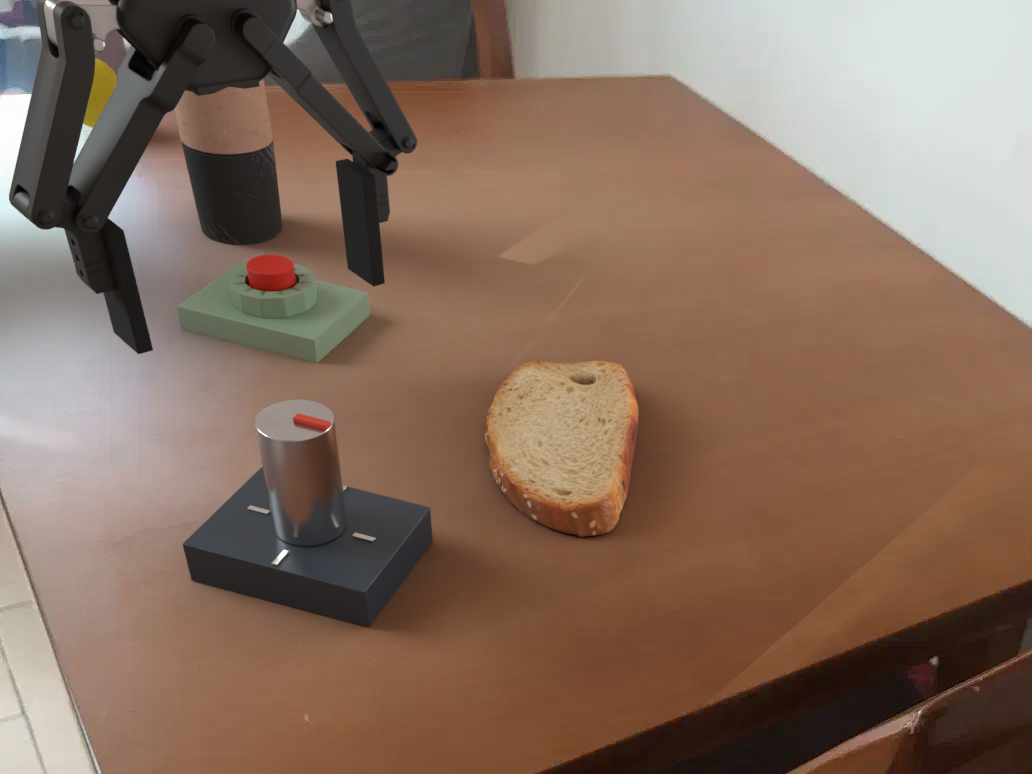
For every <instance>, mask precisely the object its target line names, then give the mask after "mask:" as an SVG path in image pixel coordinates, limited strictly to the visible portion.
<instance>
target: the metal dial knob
mask: <svg viewBox="0 0 1032 774" xmlns="http://www.w3.org/2000/svg"><path fill="white" fill-rule="evenodd" d="M254 427H255V433H256V438H257V443H258V449H259V454H260V460H261V465H262V466H263V471H264V476H265V482H266V487H267V493H268V498H269V503H270V509H271V514H272V520H273V525H274V530H275V533H276V534H277V535H278V537H279V538H281V539H282V540H283V541H285V542H287V543H290V544H293V545H299V546H314V545H320V544H324V543H327V542H330V541H332V540H334V539H335V538H337V537H338V536H340V535H341V534H342V533H343V532H344V530H345V529H346V527H347V513H346V505H345V497H344V490H343V485H344V483H343V475H342V468H341V458H340V452H339V445H338V436H337V428H336V421H335V415H334V412H333V411H332V409H330V408H329V407H328V406H326V405H325V404H322V403H321V402H317V401H314V400H309V399H286V400H281V401H278V402H275V403H272V404H270V405H268V406H265V407H264V408H263V409H262V410H260V411H259V412H258V414H256V417H255V420H254Z"/></svg>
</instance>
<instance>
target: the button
mask: <svg viewBox="0 0 1032 774" xmlns="http://www.w3.org/2000/svg"><path fill="white" fill-rule="evenodd" d="M246 263H247V265H246V268H247V274H248V279H249V285H250V287H251V288H252V289H256V290H260V291H282V290H286V289H290V288H292V287H294V286H295V285H296V278H295V271H294V264H295V263H294V262H293V260H291V258H289V257H287V256H285V255H284V256H283V255H279V254H262V255H258V256H254V257H252V258H250V259H249V260H247V262H246Z"/></svg>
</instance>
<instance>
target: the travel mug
mask: <svg viewBox="0 0 1032 774" xmlns="http://www.w3.org/2000/svg"><path fill="white" fill-rule="evenodd" d="M259 85H260V86H259V87H253V88H246V89H244V88H236V87H227V88H225V89H222V90H220V91H218V92H216V93H214V94H207V95H201V96H198V95H196V94H194V93H193V92H189V91H186V90H185V92H184V93H183V95H182V97H181V99H180V101H179V102H178V104H177V106H176V107H175V109H174V111H175V117H176V121H177V127H178V133H179V137H180V142H181V147H182V152H183V155H184V160H185V165H186V169H187V174H188V177H189V182H190V186H191V190H192V191H191V192H192V195H193V199H194V204H195V207H196V208H195V209H196V212H197V217H198V221H199V226H200V228H201V231H202V234H203V235H205V237H207V238H208V239H210V240H212V241H214V242H217V243H221V244H225V245H234V246H241V245H242V246H243V245H244V246H247V245H256V244H261V243H266V242H268V241H270V239H271V240H273V239H275V238H276V237H278V236H279V235H280V234H281V232H282V230H283V219H282V218H283V217H282V210H281V209H282V208H281V200H280V191H279V181H278V172H277V163H276V153H275V146H274V137H273V130H272V129H273V128H272V124H271V117H270V110H269V105H268V97H267V91H266V84H265V78H264V79H262V80H261V81H259ZM279 233H280V234H279ZM278 234H279V235H278ZM277 235H278V236H277Z"/></svg>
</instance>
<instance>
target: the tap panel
mask: <svg viewBox="0 0 1032 774" xmlns="http://www.w3.org/2000/svg"><path fill="white" fill-rule="evenodd" d="M343 490H344V497H345V505H346V513H347V527H346V529H345V530H344V532H343V533H342V534H341V535H340V536H338V537H337V538H335V539H334V540H332V541H330V542H327V543H324V544H320V545H314V546H299V545H293V544H290V543H287V542H285V541H283V540H282V539H281V538H279V537H278V535H277V534H276V533H275V530H274V525H273V520H272V514H271V509H270V503H269V498H268V493H267V487H266V482H265V476H264V471H263V465H262V466H261V467H260V468H259V469H257V471H256V472H255V473H254V474H253V475H252V476H250V477H249V479H247V480H246V482H244V483H243V484H242V485H241V486H240V487H239V488H238V489H237V490H236V491H235V493H232V495H231V496H230V497H229V498H228V499H227V500H226V501H225V502H224V503H223V504H222V505H221V506H220V507H218V509H217V510H216V511H215V512H214V513H213V514H212V515H210V517H209V518H207V519H206V521H204V522H203V523H202V524H201V525H200V527H198V528H197V529H196V530H195V531H194V532H193V533H192V534H191V535H190V536H189V537H188V538H187V539H186V540H185V541H184V542H183V543H182V548H183V552H184V556H185V560H186V564H187V567H188V568H187V569H188V571H189V576H190V579H191V581H193V582H198V583H201V584H205V585H208V586H211V587H216V588H220V589H223V590H228V591H231V592H235V593H238V594H242V595H245V596H250V597H253V598H258V599H261V600H264V601H268V602H272V603H276V604H279V605H283V606H287V607H291V608H295V609H299V610H302V611H304V612H305V611H306V612H310V613H313V614H317V615H321V616H324V617H329V618H331V619H336V620H339V621H342V622H347V623H350V624H354V625H358V626H362V627H365V628H370V626H371V625H372V624H373V623H374V621H375V620H376V619H377V617H378V616H379V614H380V613H381V612H382V610H383V609H384V608H385V606H386V605H387V604H388V602H389V601H390V600H391V599H392V597H393V596H394V594H395V593H396V592H397V590H399V588H400V586H401V585H402V584H403V582H404V581H405V580H406V579H407V577H408V576H409V574H410V573H411V572H412V570H413V569H414V568H415V566H416V565H417V563H418V562H419V561H420V559H421V558H422V557H423V556H424V554H425V553H426V551H427V550H428V549H429V547H430V546H431V544H432V543H433V542H434V541H433V540H434V539H433V527H432V515H431V514H432V511H431V507H429V506H425V505H422V504H418V503H414V502H410V501H406V500H402V499H399V498H394V497H390V496H386V495H384V494H380V493H375V492H371V491H367V490H364V489H360V488H356V487H351V486H348V485H345V484H343Z"/></svg>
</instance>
